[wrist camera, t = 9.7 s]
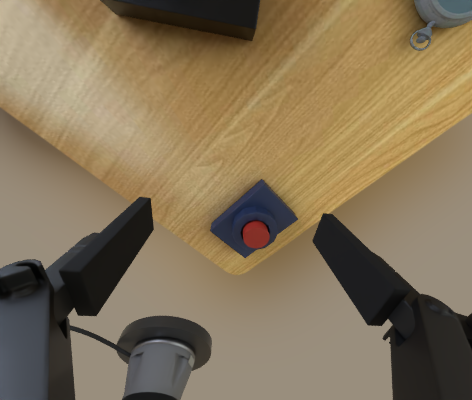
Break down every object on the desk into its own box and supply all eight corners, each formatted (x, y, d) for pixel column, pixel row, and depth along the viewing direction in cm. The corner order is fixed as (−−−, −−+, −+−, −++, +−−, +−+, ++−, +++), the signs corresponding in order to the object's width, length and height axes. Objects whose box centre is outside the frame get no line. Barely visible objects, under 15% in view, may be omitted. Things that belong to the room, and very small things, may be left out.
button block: (244, 249, 32) (245, 266, 28) (211, 223, 29) (208, 238, 25) (293, 212, 28) (302, 226, 25) (261, 178, 26) (267, 189, 22)
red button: (253, 244, 27) (255, 252, 25) (237, 230, 25) (238, 238, 24) (272, 230, 26) (275, 238, 24) (256, 215, 24) (257, 222, 23)
